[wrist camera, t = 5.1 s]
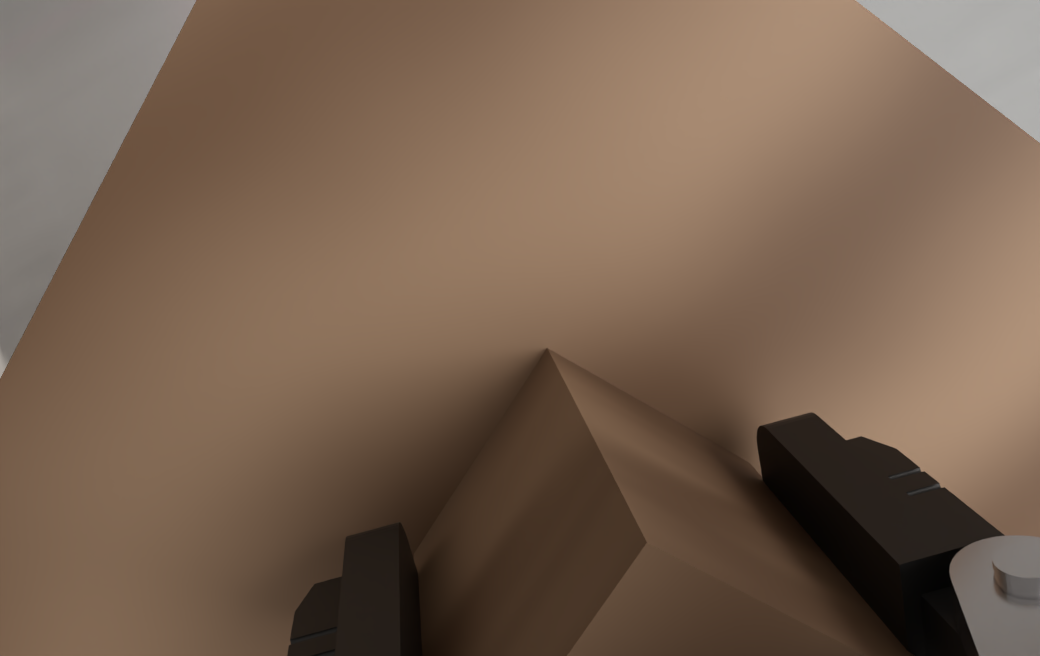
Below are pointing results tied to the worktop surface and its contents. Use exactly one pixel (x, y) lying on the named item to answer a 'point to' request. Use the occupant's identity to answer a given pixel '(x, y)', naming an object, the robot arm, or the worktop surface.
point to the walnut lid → (515, 326)
